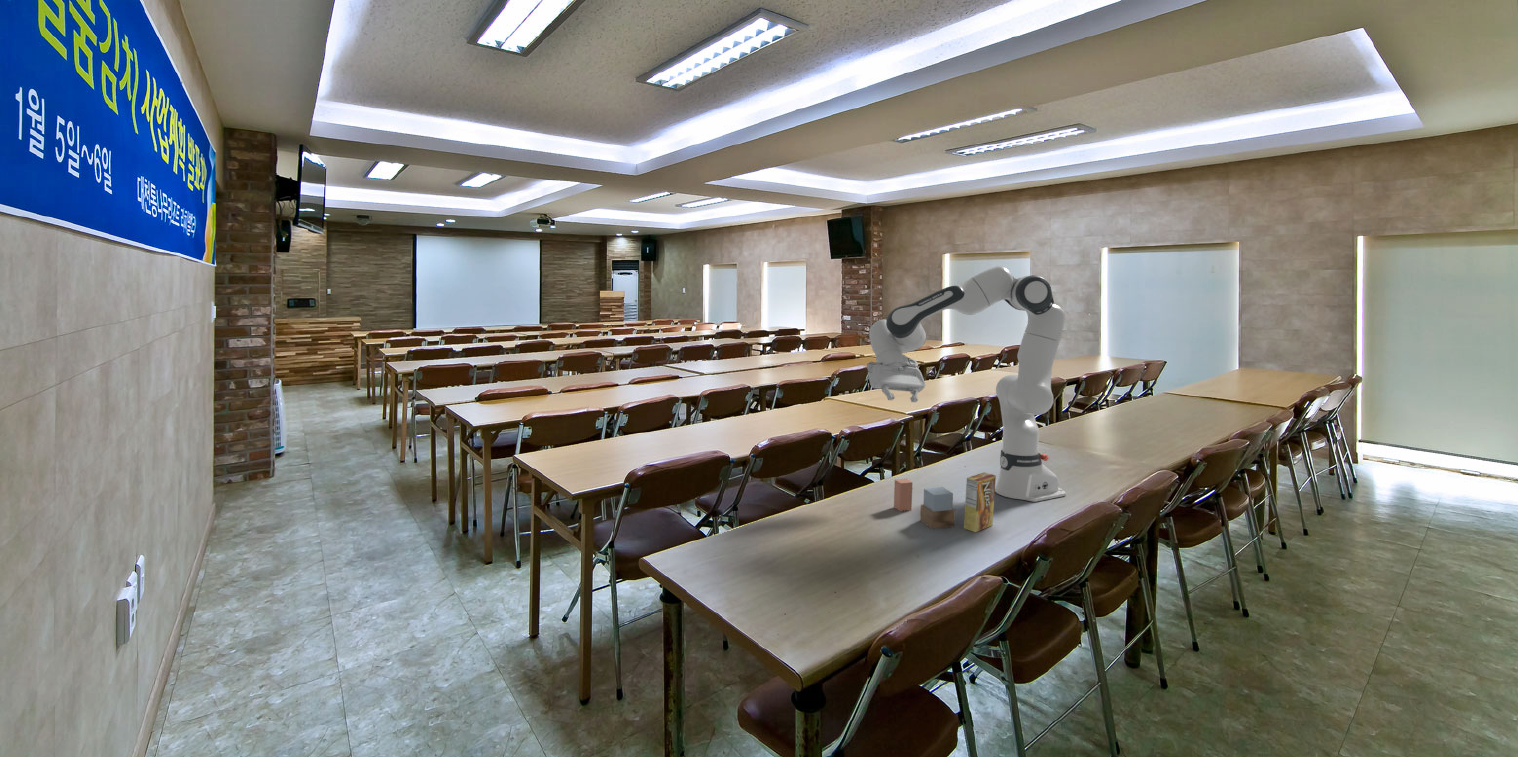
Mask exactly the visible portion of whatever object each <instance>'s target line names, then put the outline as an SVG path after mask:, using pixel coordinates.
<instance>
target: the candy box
mask: <svg viewBox="0 0 1518 757" xmlns="http://www.w3.org/2000/svg"><path fill="white" fill-rule="evenodd" d="M996 477H997V476H996V475H995V474H993V473H988V472H981V473H978V474H974V475H971V476H968V477H966V485H965V486H966V487H965V504H964V518H963V519H964V522H963V529H964V530H966V531H967V530H968V531H970V532H973V533H977V532H980V531H983V530H984V529H987V528H989V527H992V526H993V522H994V509H995V508H994V507H995V493H996V492H995V488H996V480H997V479H996Z"/></svg>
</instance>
